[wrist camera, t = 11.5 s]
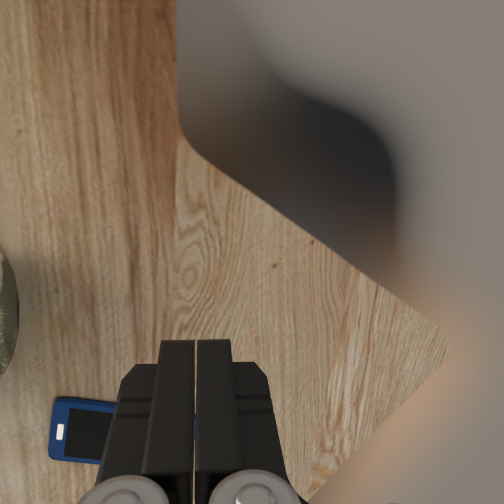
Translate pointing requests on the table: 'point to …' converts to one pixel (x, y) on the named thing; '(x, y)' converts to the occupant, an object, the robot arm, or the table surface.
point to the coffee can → (7, 313)
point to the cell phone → (80, 430)
